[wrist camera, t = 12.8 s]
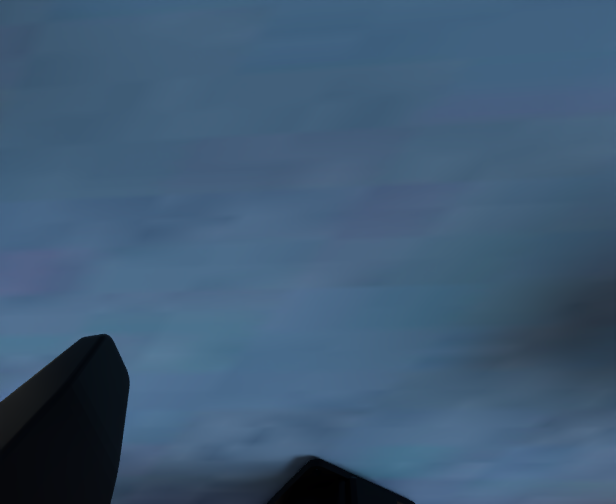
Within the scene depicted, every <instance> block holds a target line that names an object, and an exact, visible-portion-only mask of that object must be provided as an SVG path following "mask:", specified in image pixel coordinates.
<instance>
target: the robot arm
mask: <svg viewBox="0 0 616 504" xmlns="http://www.w3.org/2000/svg"><path fill="white" fill-rule="evenodd" d="M129 386H130V381H129V375H128V372H127V369H126V367H125V365H124V363H123V360H122V358H121V356H120V354H119V352H118V350H117V347H116V345H115V343H114V341H113V339H112V338H111V337H110V336H109V335H107V334H100V335H94V336H87V337H83V338H81V339H79V340H78V341H77V342H76V343H74V344H73V345H72V346H71V347H69V348H68V349H67V350H66V351H64V352H63V353H62V354H60V355H59V356H58V357H57V358H55V359H54V360H53V361H52V362H50V363H49V364H48V365H47V366H45V367H44V368H43V369H42V370H40V371H39V372H38V373H37V374H35V375H34V376H33V377H32V378H30V379H29V380H28V381H26V382H25V383H24V384H23V385H21V386H20V387H19V388H18V389H16V390H15V391H14V392H13V393H11V394H10V395H9V396H8V397H6V398H5V399H4V400H3V401H1V402H0V504H110V503H111V499H112V495H113V491H114V487H115V482H116V478H117V473H118V468H119V461H120V455H121V447H122V440H123V432H124V425H125V417H126V410H127V402H128V394H129ZM316 469H318V470H316ZM267 504H415V503H414V502H413V501H410V500H408V499H406V498H404V497H402V496H399V495H397V494H395V493H393V492H391V491H389V490H386V489H384V488H382V487H380V486H378V485H376V484H373V483H371V482H369V481H367V480H365V479H362V478H360V477H358V476H356V475H354V474H352V473H349V472H347V471H345V470H343V469H341V468H338V467H336V466H334V465H332V464H330V463H328V462H325V461H323V460H320V459H313V460H310V461H309V462H308V463H307V464H306V465H305V466H304V467H303V468H302V469H301V470H300V471H299V472H298V473H297V474H296V475H295V476H294V477H293V478H292V479H291V480H290V481H289V482H288V483H287V484H286V485H285V486H284V487H283V488H282V489H281V490H280V491H279V492H278V493H277V494H276V495H275V496H274V497H273V498H272V499H271V500H270V501H269V502H268V503H267Z"/></svg>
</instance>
